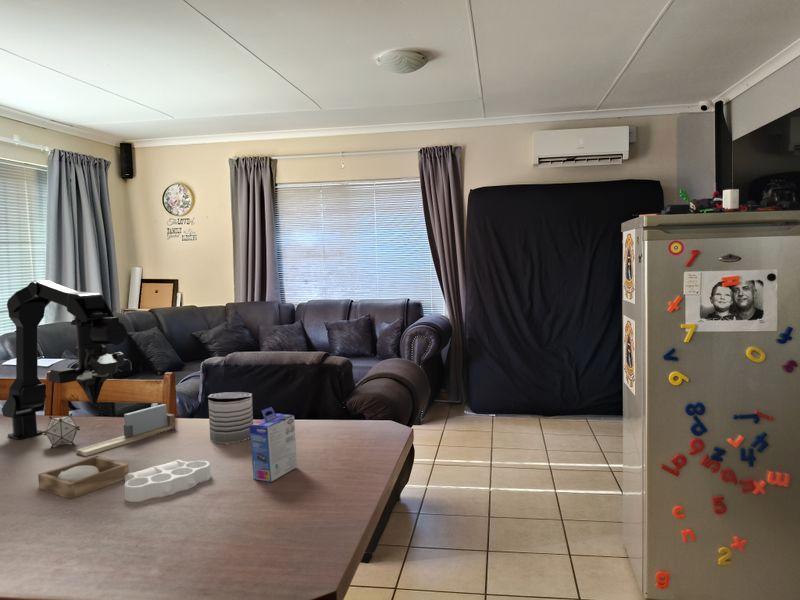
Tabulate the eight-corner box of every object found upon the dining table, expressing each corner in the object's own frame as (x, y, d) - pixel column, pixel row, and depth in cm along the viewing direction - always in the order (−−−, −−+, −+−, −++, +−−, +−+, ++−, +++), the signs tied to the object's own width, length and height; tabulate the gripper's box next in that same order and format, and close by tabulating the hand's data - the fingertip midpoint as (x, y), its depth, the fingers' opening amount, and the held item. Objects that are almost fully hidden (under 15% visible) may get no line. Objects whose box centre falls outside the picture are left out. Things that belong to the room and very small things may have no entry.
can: (200, 439, 155) (198, 395, 154) (233, 428, 165) (231, 386, 164) (230, 446, 149) (228, 400, 148) (263, 434, 159) (261, 391, 158)
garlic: (55, 493, 122) (54, 476, 122) (59, 482, 128) (58, 465, 128) (98, 487, 125) (97, 469, 125) (100, 476, 131) (99, 459, 131)
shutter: (124, 436, 157) (122, 414, 156) (163, 424, 167) (162, 403, 166) (129, 437, 155) (128, 415, 155) (168, 425, 166) (167, 404, 165)
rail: (76, 453, 147) (75, 438, 146) (166, 426, 169) (165, 412, 168) (85, 456, 144) (84, 440, 144) (175, 428, 167) (174, 414, 166)
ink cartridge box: (278, 464, 136) (275, 402, 135) (298, 467, 133) (295, 404, 132) (250, 479, 127) (247, 413, 126) (271, 483, 124) (268, 416, 123)
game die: (67, 460, 153) (64, 437, 147) (36, 450, 153) (32, 425, 147) (88, 435, 160) (87, 411, 154) (59, 424, 160) (56, 400, 154)
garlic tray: (39, 488, 125) (38, 474, 125) (97, 468, 136) (96, 455, 136) (70, 499, 118) (69, 484, 118) (129, 477, 129) (128, 464, 129)
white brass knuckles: (189, 467, 136) (222, 482, 126) (109, 490, 123) (138, 510, 113) (189, 452, 136) (221, 467, 126) (108, 475, 123) (137, 493, 113)
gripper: (70, 350, 136) (75, 416, 137) (143, 339, 152) (146, 399, 153) (45, 347, 142) (49, 410, 143) (117, 337, 158) (120, 394, 159)
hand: (93, 403), depth 149 cm, fingers closed
